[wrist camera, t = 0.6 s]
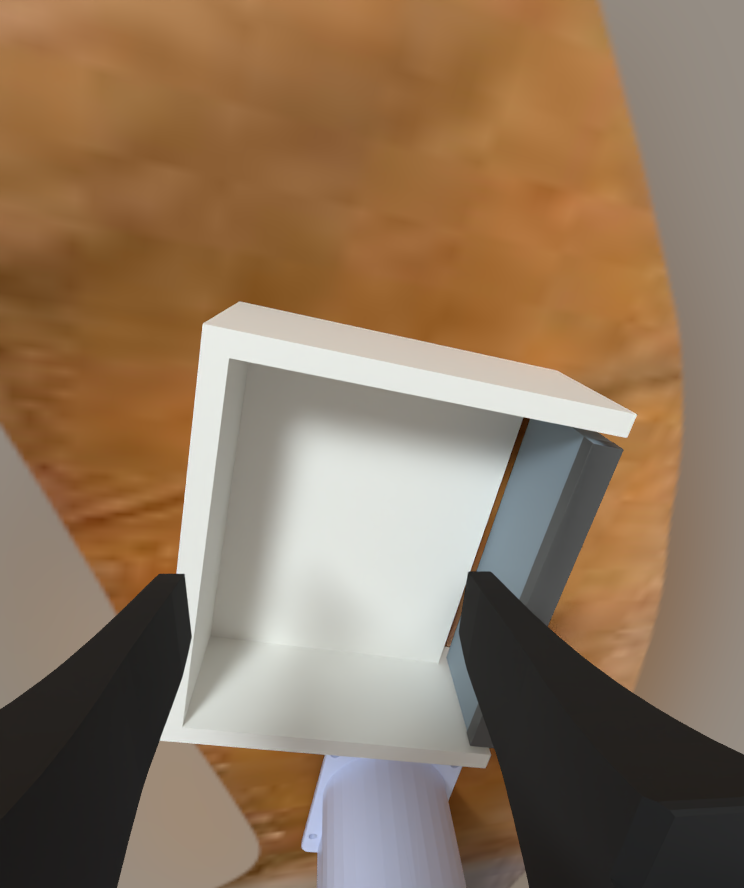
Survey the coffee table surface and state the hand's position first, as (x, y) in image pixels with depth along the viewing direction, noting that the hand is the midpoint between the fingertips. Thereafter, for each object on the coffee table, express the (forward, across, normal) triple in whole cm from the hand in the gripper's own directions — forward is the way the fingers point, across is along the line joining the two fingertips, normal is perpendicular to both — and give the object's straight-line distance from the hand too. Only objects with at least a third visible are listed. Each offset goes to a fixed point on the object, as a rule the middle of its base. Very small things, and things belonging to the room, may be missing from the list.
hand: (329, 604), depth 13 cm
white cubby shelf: (+10, -2, +3) cm, 10 cm away
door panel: (+8, -8, +4) cm, 12 cm away
